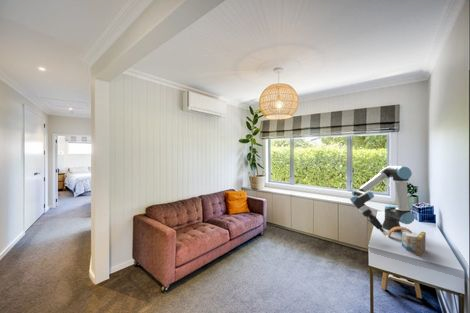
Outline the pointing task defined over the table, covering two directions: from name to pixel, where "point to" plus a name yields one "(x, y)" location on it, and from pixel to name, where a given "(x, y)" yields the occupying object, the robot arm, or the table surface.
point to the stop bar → (420, 243)
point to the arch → (397, 229)
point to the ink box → (409, 241)
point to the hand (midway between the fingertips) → (386, 234)
